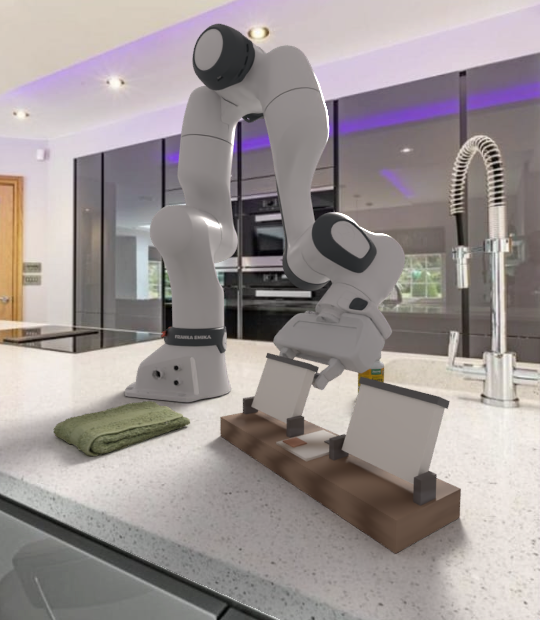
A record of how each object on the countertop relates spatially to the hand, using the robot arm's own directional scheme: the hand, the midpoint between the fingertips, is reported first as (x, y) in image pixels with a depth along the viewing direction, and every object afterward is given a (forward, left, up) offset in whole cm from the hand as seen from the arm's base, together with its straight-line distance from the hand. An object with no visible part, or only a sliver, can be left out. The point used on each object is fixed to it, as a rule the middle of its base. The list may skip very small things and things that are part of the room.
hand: (295, 380), depth 62 cm
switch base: (+3, -11, -9) cm, 14 cm away
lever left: (-3, -3, -6) cm, 7 cm away
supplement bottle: (+15, +24, -9) cm, 30 cm away
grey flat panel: (+9, -18, -6) cm, 21 cm away
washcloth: (-27, -1, -9) cm, 29 cm away
